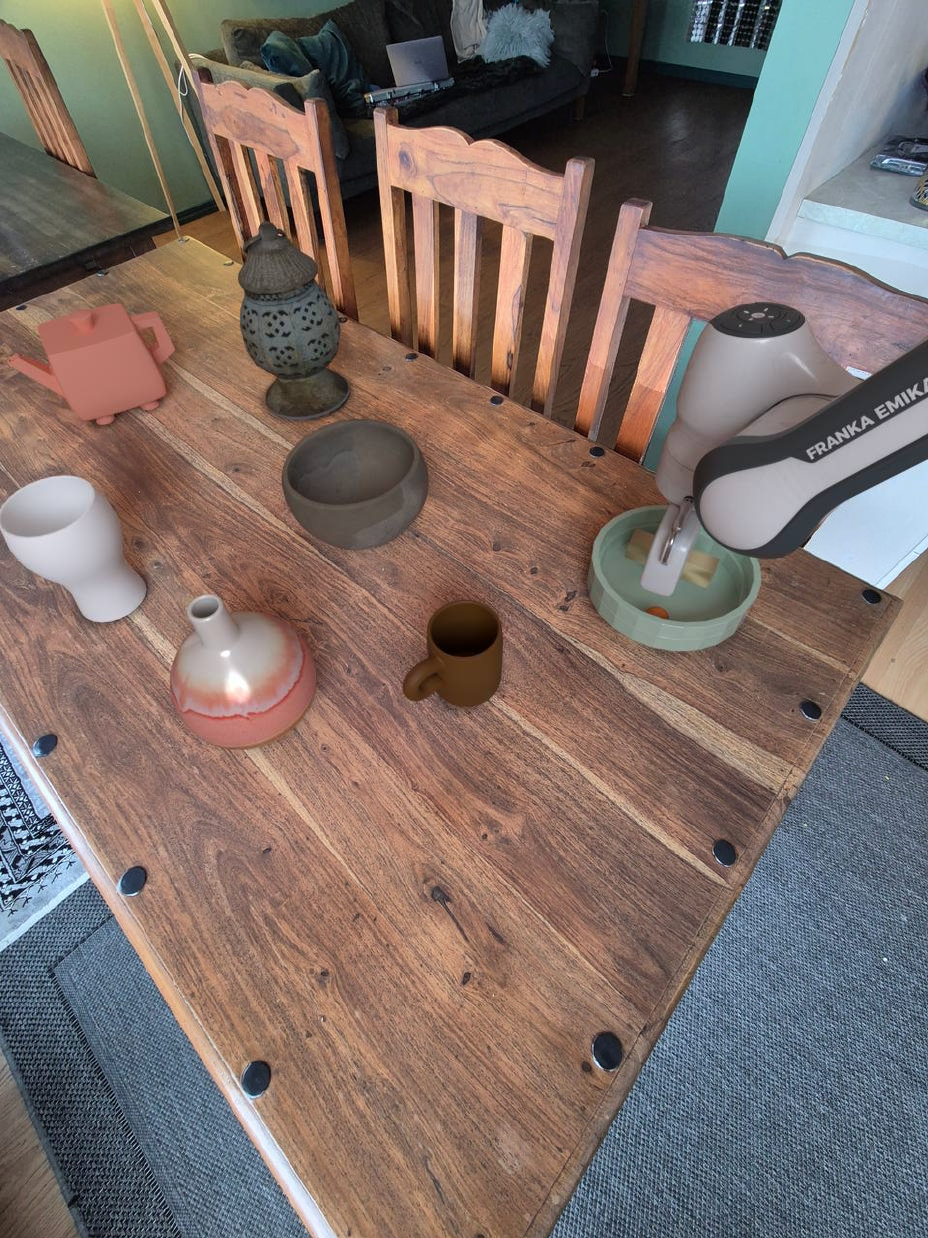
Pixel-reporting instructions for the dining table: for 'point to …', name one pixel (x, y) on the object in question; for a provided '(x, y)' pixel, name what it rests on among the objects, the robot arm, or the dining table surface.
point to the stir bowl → (691, 607)
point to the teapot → (101, 361)
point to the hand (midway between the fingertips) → (670, 562)
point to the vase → (240, 676)
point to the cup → (73, 544)
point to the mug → (459, 656)
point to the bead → (658, 612)
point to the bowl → (356, 483)
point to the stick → (697, 566)
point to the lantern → (290, 327)
